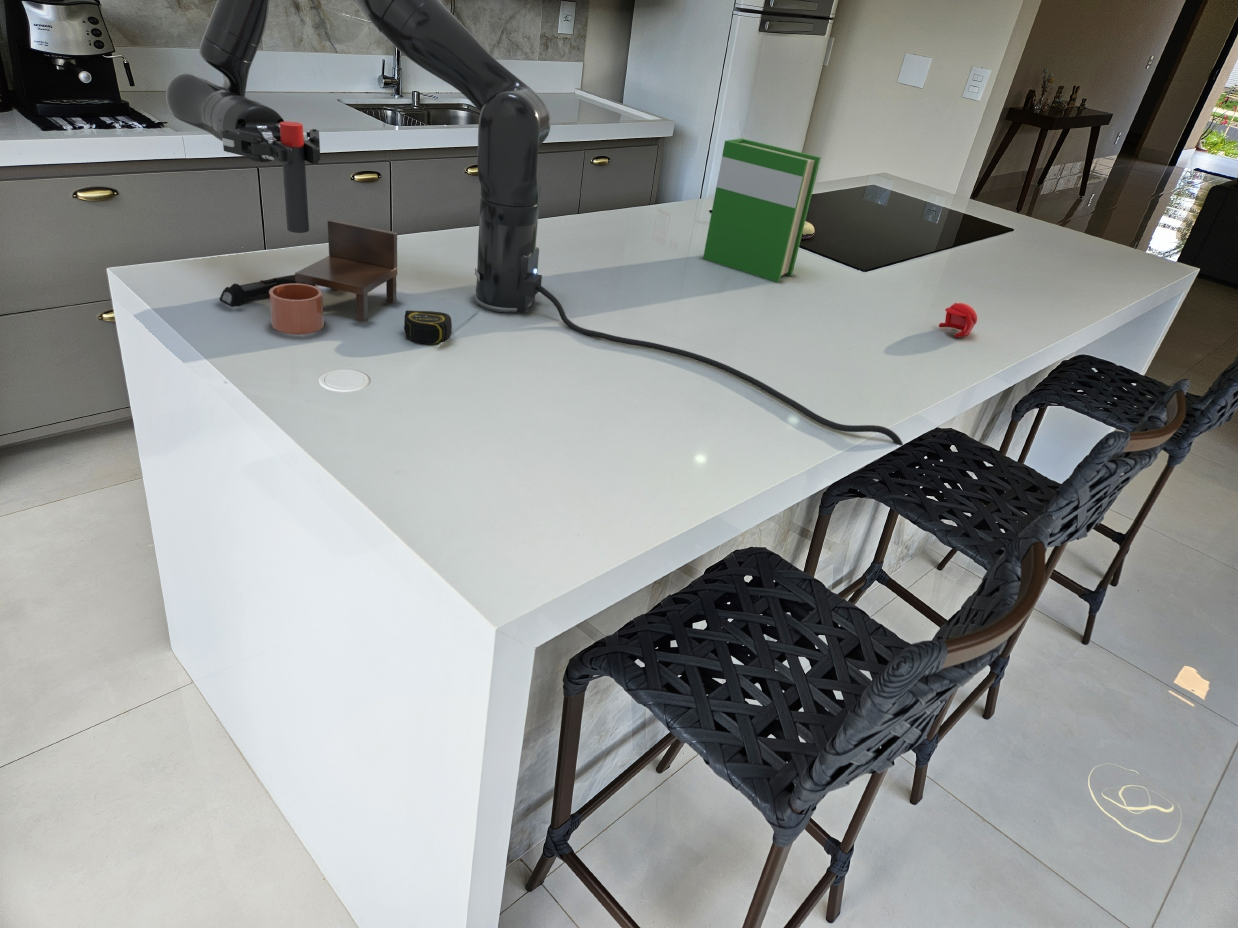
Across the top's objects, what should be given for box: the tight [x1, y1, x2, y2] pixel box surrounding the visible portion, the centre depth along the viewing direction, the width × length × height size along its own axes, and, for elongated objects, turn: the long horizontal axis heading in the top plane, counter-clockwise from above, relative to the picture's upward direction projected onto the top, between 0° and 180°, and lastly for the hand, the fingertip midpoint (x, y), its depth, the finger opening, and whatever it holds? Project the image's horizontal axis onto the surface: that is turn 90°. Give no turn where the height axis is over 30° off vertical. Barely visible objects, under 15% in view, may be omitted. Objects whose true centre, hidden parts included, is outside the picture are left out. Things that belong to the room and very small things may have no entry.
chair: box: [294, 218, 398, 323], centre depth 128 cm, size 11×11×12 cm
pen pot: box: [268, 283, 325, 335], centre depth 120 cm, size 7×7×6 cm
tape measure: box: [403, 310, 453, 345], centre depth 123 cm, size 7×7×4 cm
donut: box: [801, 220, 815, 240], centre depth 206 cm, size 10×5×9 cm
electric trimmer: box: [219, 274, 316, 308], centre depth 129 cm, size 4×16×3 cm, turn 142°
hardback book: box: [702, 137, 822, 283], centre depth 172 cm, size 18×7×24 cm, turn 56°
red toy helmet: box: [938, 302, 978, 339], centre depth 157 cm, size 8×6×6 cm
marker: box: [280, 121, 310, 234], centre depth 112 cm, size 3×3×14 cm
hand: (302, 156), depth 108 cm, fingers closed on marker, 3 cm apart
